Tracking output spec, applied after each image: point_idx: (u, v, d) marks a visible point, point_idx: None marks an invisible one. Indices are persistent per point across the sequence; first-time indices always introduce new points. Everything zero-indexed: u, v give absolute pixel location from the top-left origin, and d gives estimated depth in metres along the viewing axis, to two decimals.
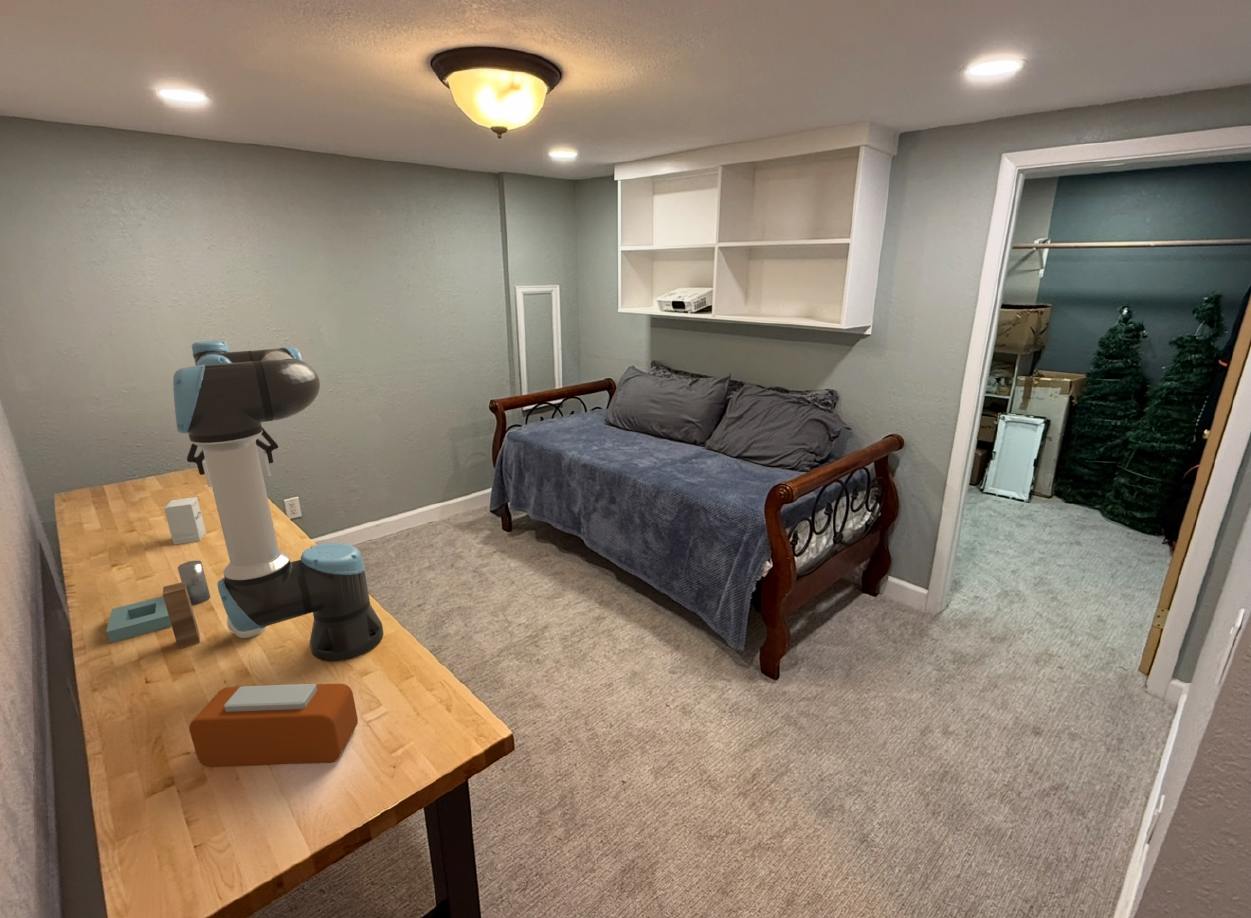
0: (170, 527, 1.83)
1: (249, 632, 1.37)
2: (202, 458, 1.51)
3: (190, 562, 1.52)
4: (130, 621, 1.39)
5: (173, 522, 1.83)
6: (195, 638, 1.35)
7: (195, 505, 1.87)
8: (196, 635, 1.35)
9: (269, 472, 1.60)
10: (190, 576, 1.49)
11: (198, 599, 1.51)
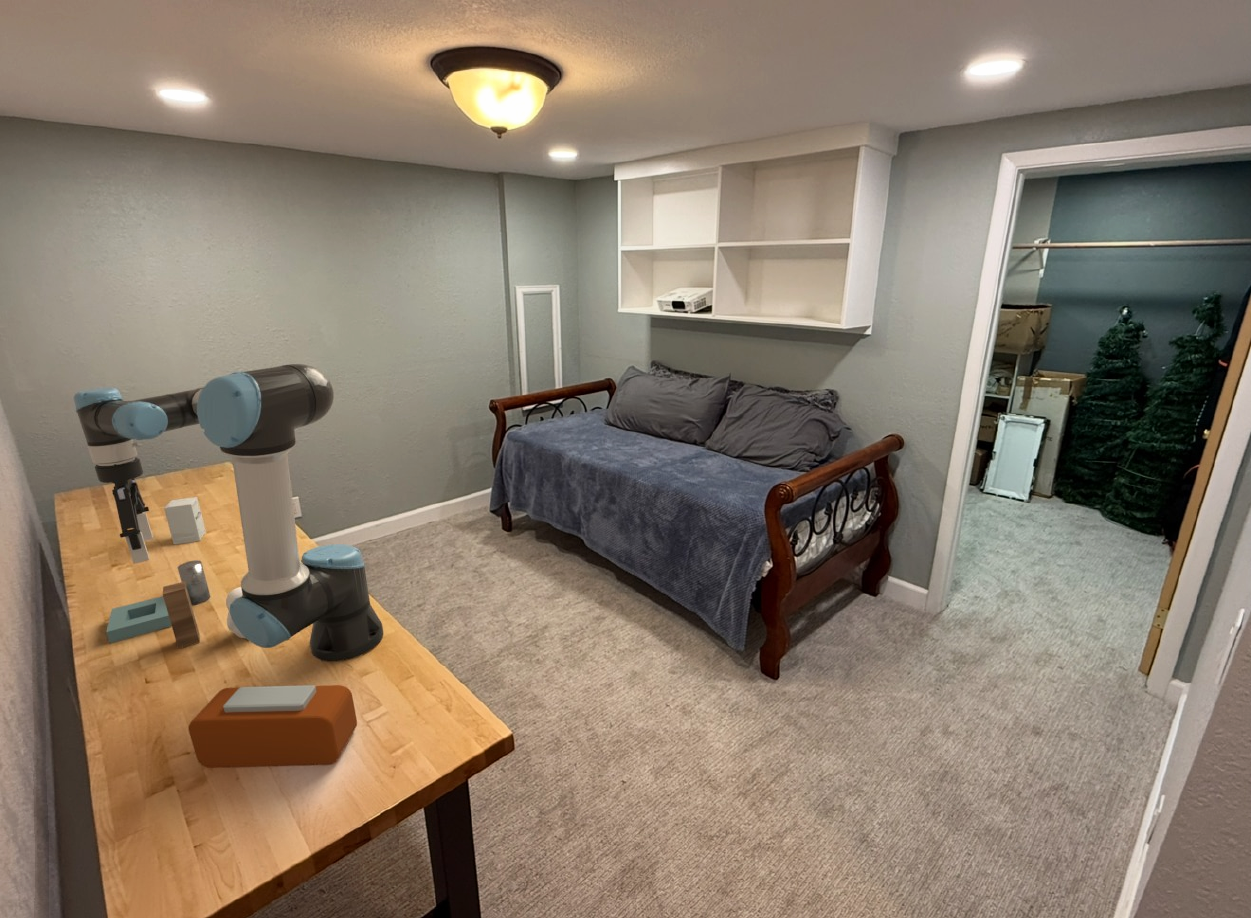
0: (170, 527, 1.83)
1: None
2: None
3: (190, 562, 1.52)
4: (130, 621, 1.39)
5: (173, 522, 1.83)
6: (195, 638, 1.35)
7: (195, 505, 1.87)
8: (196, 635, 1.35)
9: None
10: (190, 576, 1.49)
11: (198, 599, 1.51)
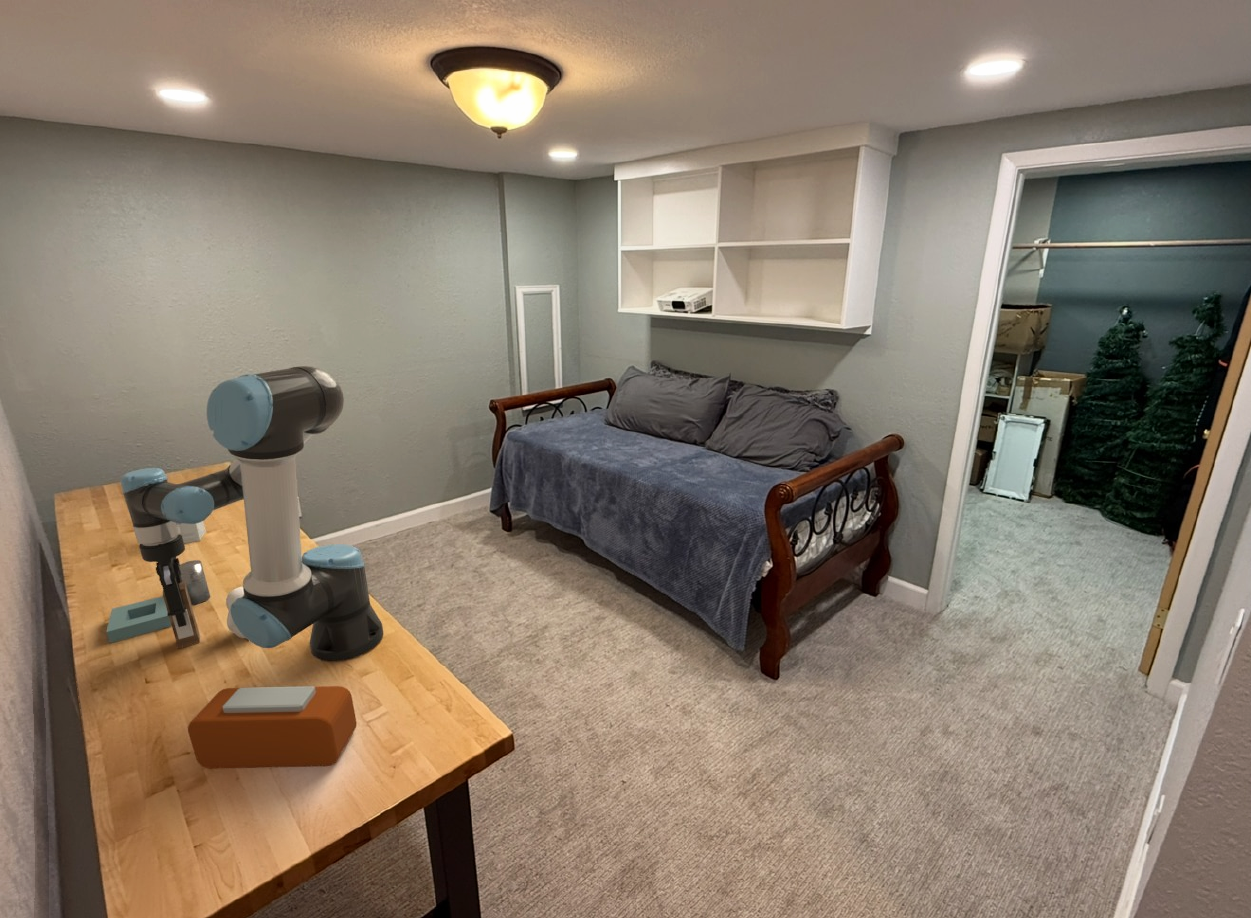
0: None
1: None
2: None
3: (190, 562, 1.52)
4: (130, 621, 1.39)
5: None
6: (195, 638, 1.35)
7: None
8: (196, 635, 1.35)
9: None
10: (190, 575, 1.49)
11: (198, 598, 1.51)
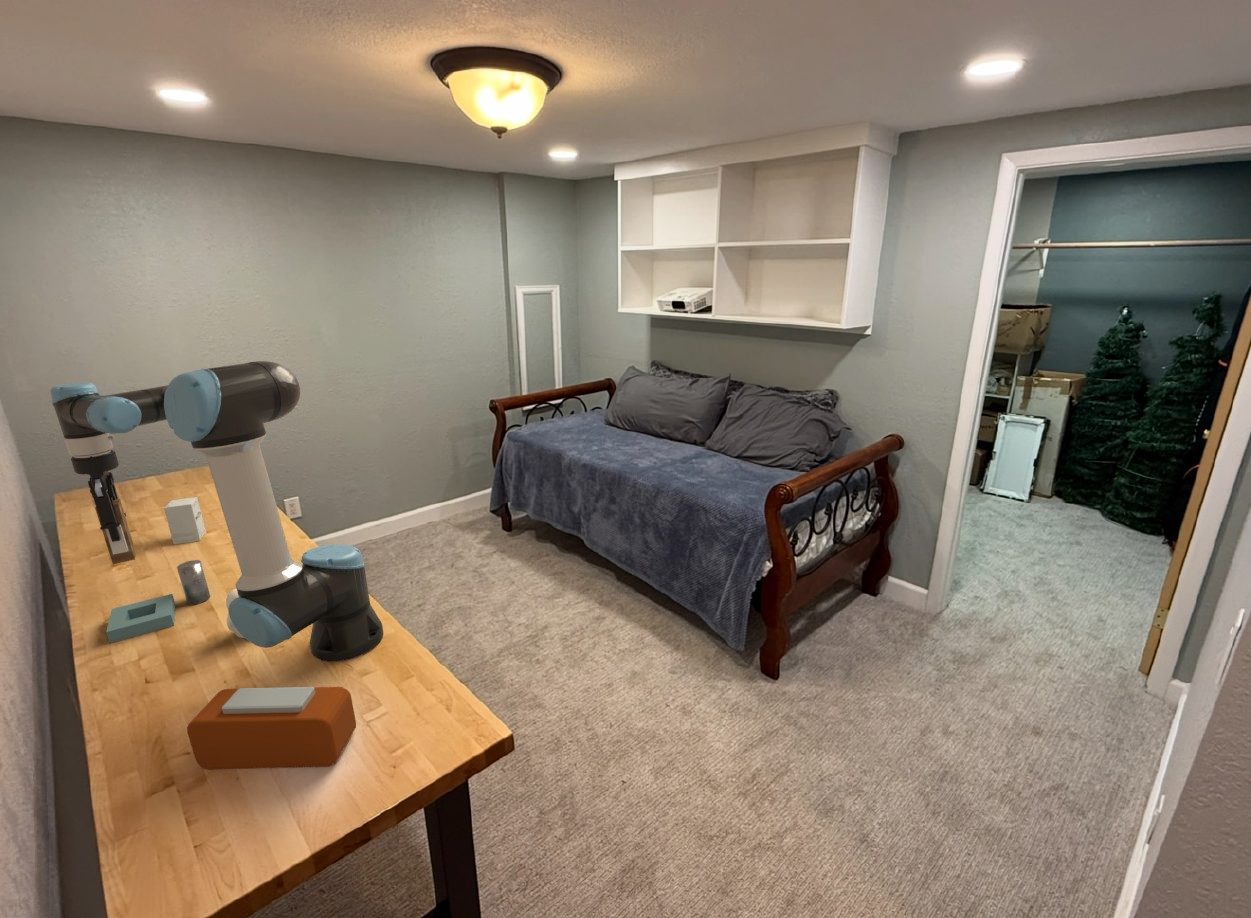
0: (170, 527, 1.83)
1: None
2: None
3: (189, 562, 1.52)
4: (130, 621, 1.39)
5: (173, 522, 1.83)
6: (130, 555, 1.37)
7: (195, 505, 1.87)
8: (131, 552, 1.37)
9: None
10: (190, 575, 1.49)
11: (198, 598, 1.52)
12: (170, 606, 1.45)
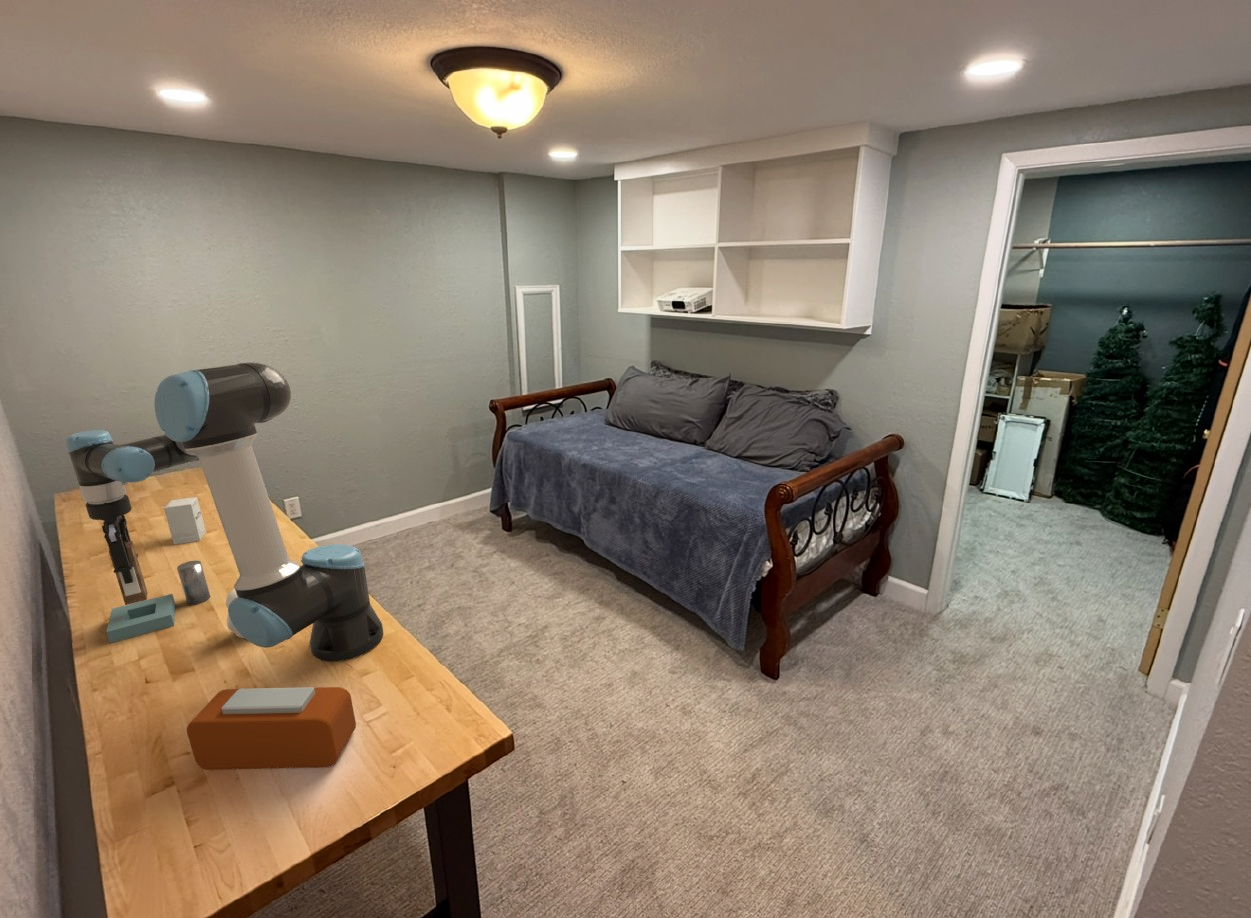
0: (170, 527, 1.83)
1: None
2: None
3: (189, 562, 1.52)
4: (130, 621, 1.39)
5: (173, 522, 1.83)
6: (142, 596, 1.41)
7: (195, 505, 1.87)
8: (143, 593, 1.41)
9: None
10: (191, 576, 1.49)
11: (199, 599, 1.52)
12: (170, 606, 1.45)
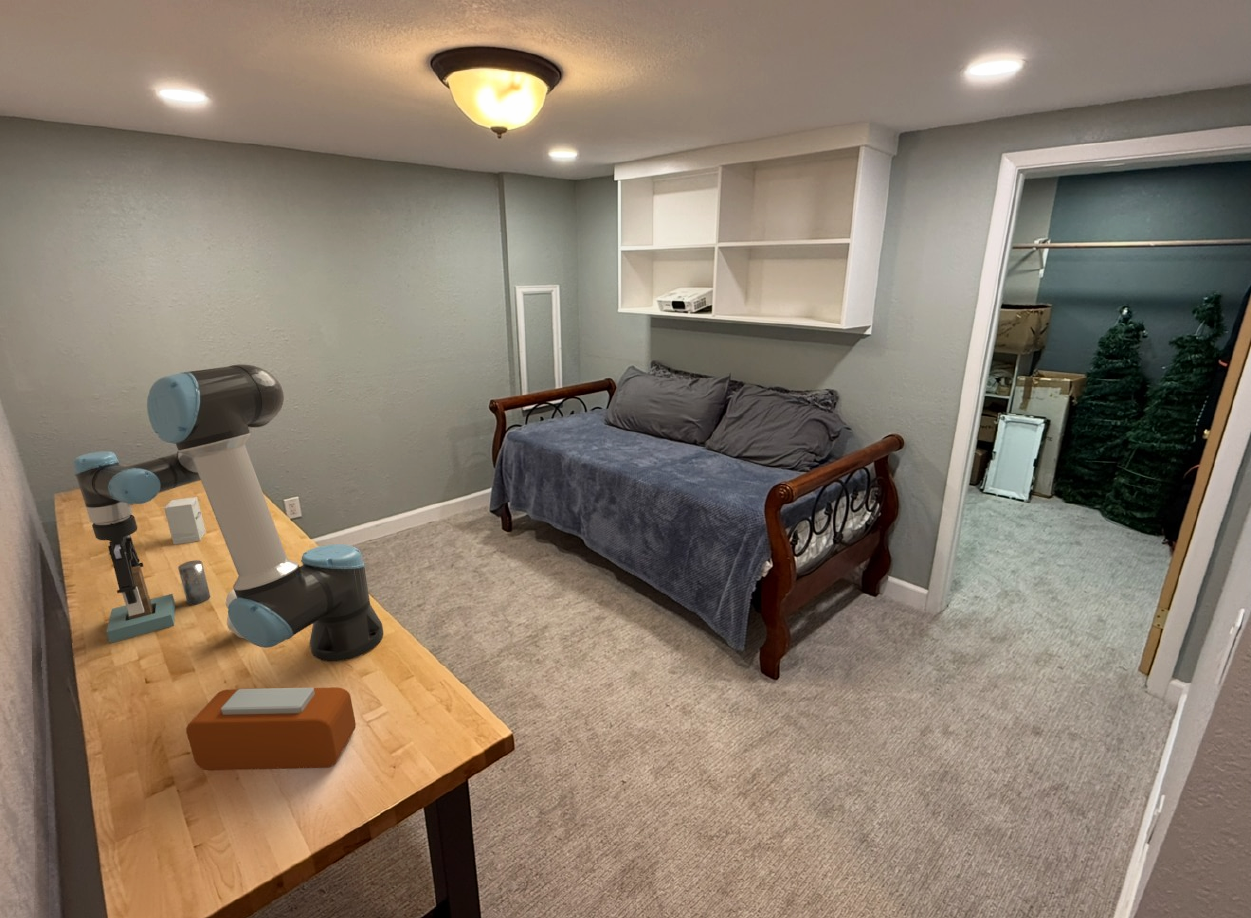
0: (170, 527, 1.83)
1: None
2: None
3: (189, 562, 1.52)
4: (130, 621, 1.39)
5: (173, 522, 1.83)
6: None
7: (195, 505, 1.87)
8: None
9: None
10: (192, 576, 1.49)
11: (200, 598, 1.52)
12: (170, 606, 1.45)
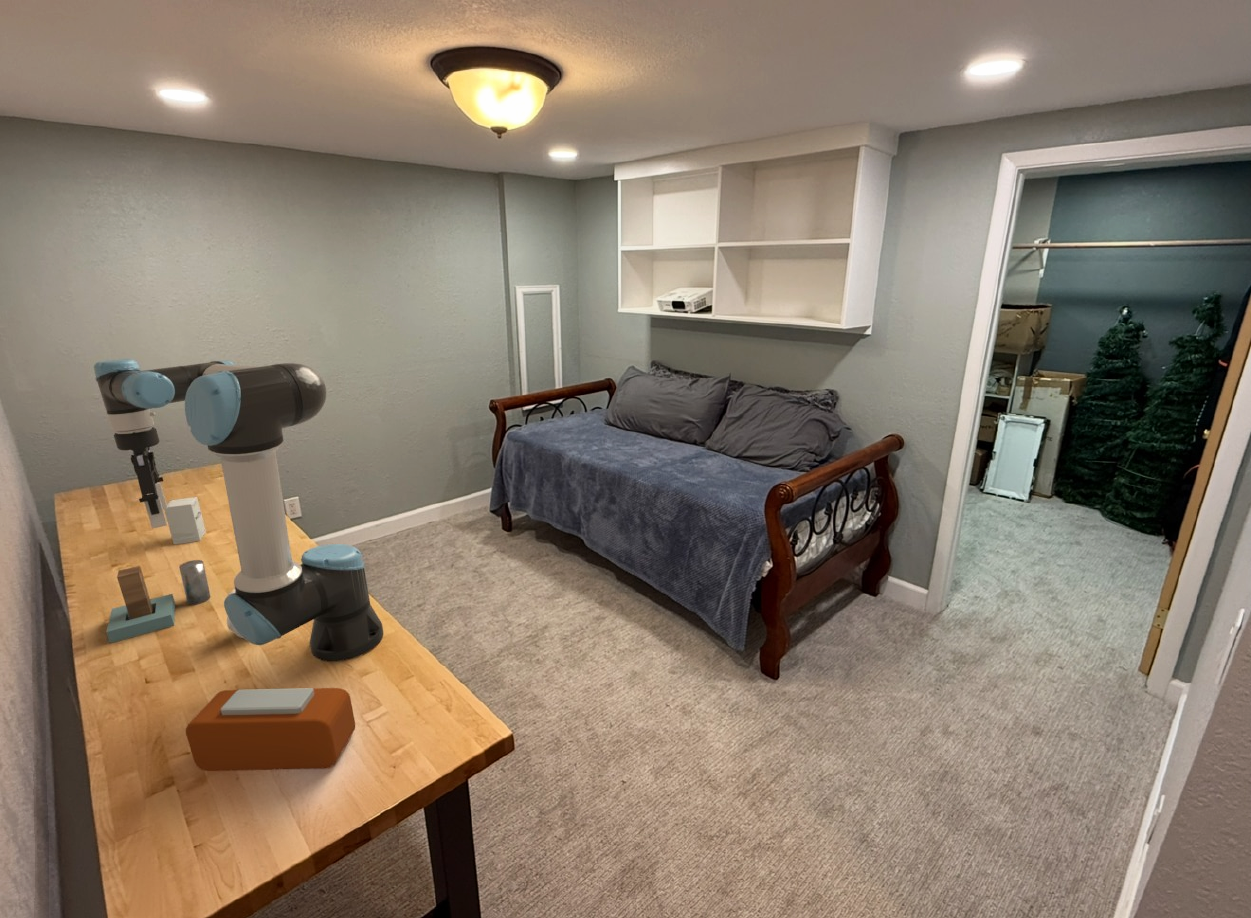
0: (170, 527, 1.83)
1: None
2: None
3: (190, 562, 1.52)
4: (130, 621, 1.39)
5: (173, 522, 1.83)
6: None
7: (195, 505, 1.87)
8: None
9: None
10: (194, 575, 1.50)
11: (200, 598, 1.52)
12: (170, 606, 1.45)
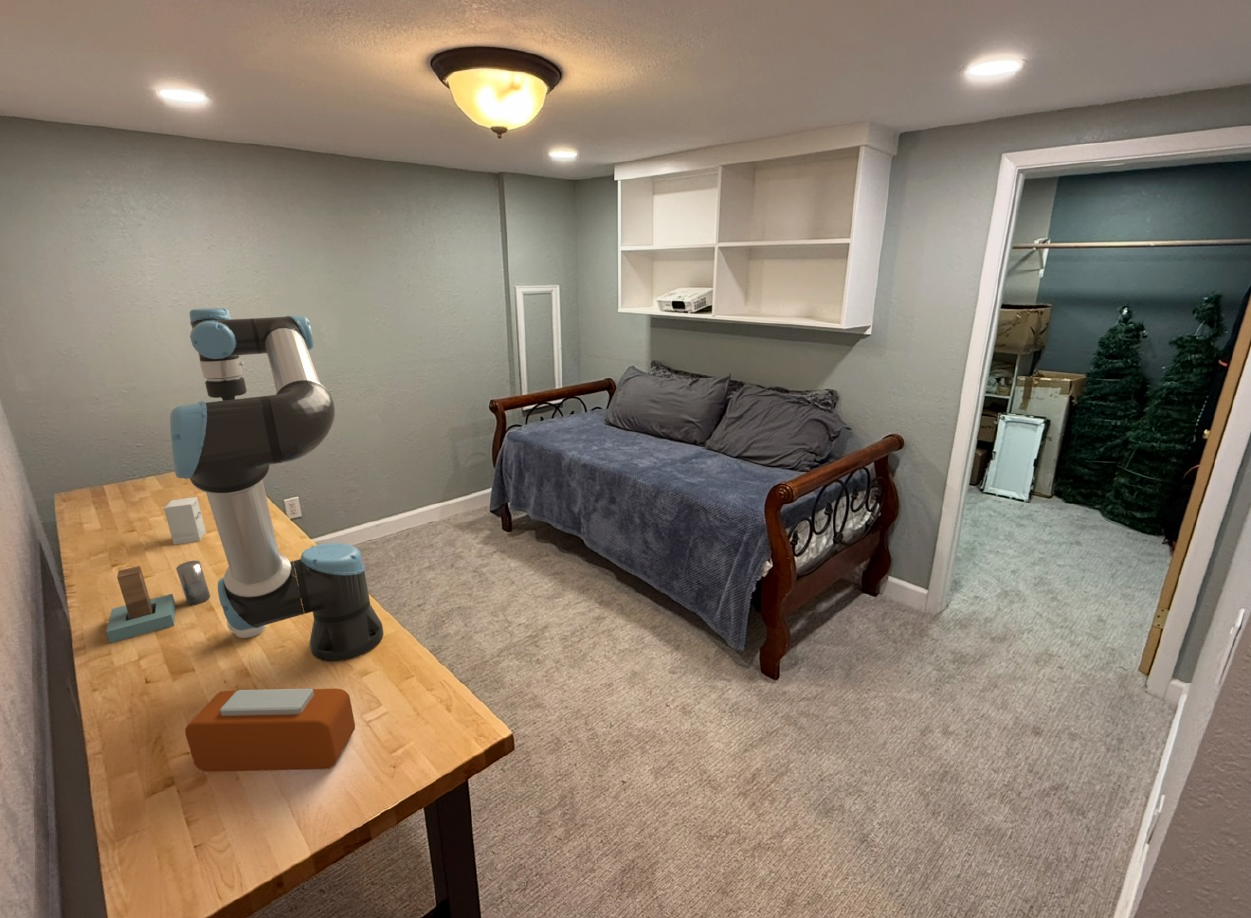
0: (170, 527, 1.83)
1: (249, 632, 1.37)
2: None
3: (186, 563, 1.51)
4: (130, 621, 1.39)
5: (173, 522, 1.83)
6: None
7: (195, 505, 1.87)
8: None
9: None
10: (192, 575, 1.49)
11: (201, 598, 1.52)
12: (170, 606, 1.45)
